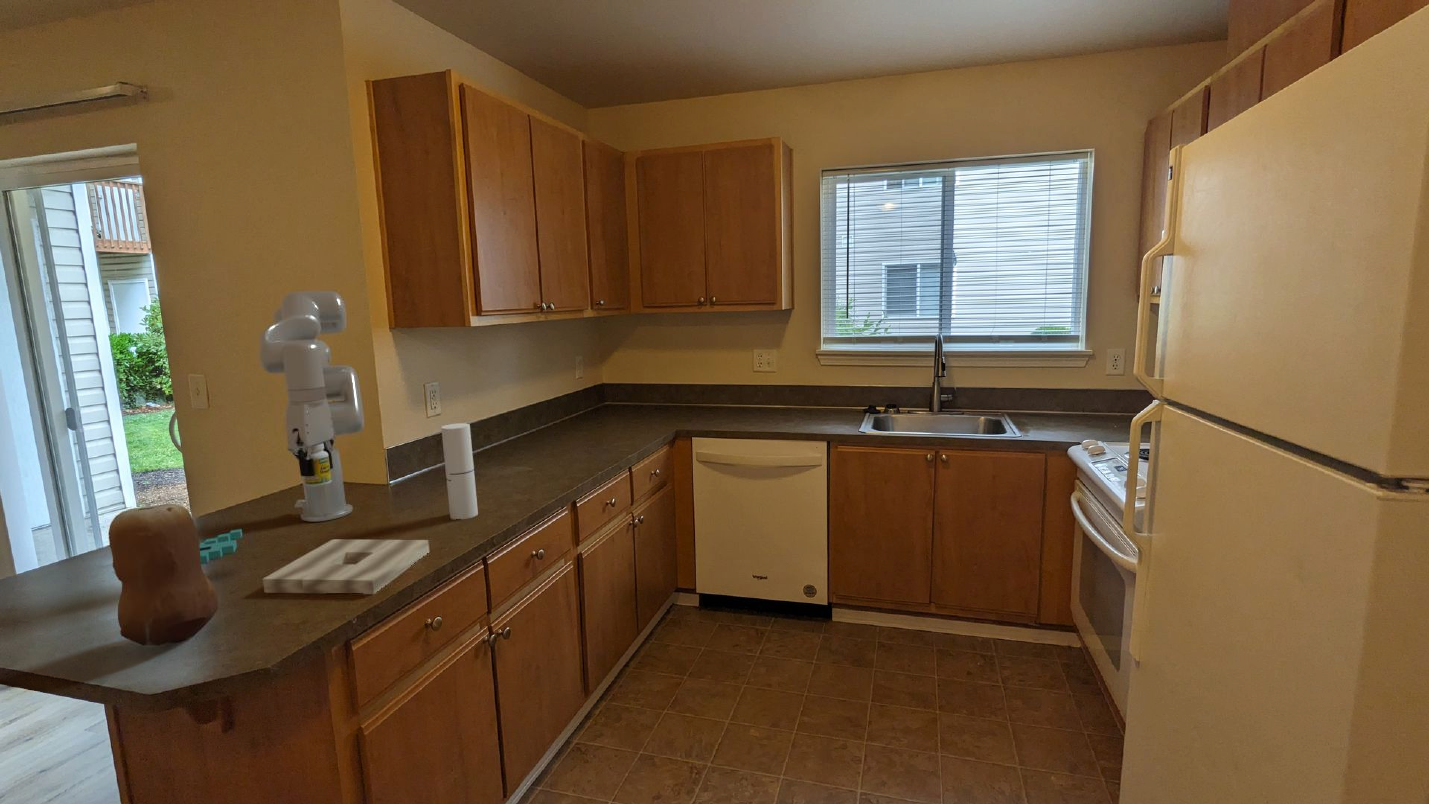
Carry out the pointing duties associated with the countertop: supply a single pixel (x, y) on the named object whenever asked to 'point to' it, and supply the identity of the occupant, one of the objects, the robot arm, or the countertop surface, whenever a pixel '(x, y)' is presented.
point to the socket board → (347, 567)
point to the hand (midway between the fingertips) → (317, 471)
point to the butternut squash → (160, 575)
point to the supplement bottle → (319, 467)
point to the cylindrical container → (459, 470)
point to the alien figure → (219, 546)
